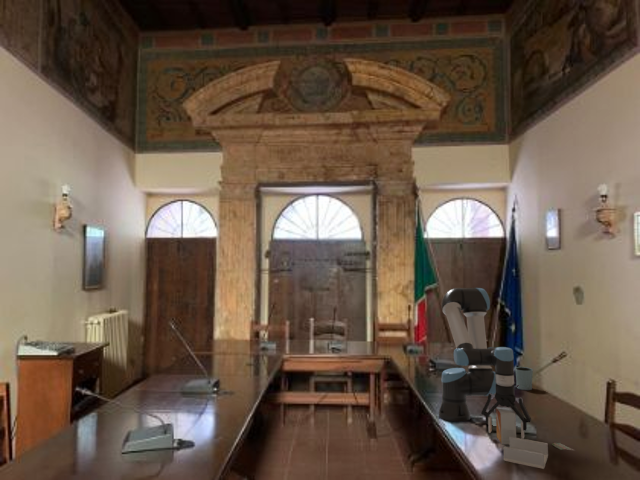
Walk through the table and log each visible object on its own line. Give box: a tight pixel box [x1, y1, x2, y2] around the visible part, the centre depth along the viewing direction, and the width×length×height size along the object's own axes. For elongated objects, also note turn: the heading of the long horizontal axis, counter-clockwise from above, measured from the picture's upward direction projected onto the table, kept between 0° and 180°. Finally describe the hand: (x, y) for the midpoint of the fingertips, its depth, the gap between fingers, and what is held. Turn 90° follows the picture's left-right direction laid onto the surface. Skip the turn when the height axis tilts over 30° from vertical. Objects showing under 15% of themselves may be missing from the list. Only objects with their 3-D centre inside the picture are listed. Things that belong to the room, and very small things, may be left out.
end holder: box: [502, 436, 549, 470], centre depth 178 cm, size 14×13×5 cm
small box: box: [495, 406, 517, 445], centre depth 196 cm, size 8×6×13 cm
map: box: [551, 442, 576, 451], centre depth 183 cm, size 5×20×1 cm, turn 23°
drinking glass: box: [514, 366, 534, 391], centre depth 282 cm, size 10×10×12 cm
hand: (506, 434), depth 196 cm, fingers open, 12 cm apart
